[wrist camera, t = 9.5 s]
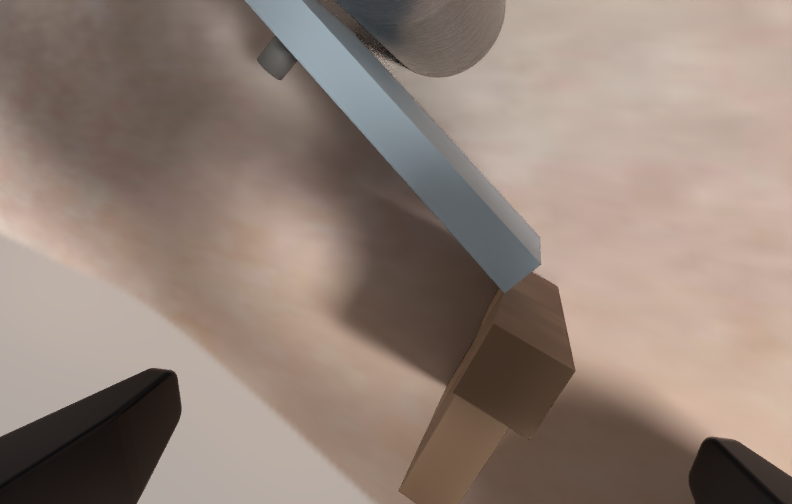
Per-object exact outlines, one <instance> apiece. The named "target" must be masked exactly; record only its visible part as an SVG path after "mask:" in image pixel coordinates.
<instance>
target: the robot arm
mask: <svg viewBox="0 0 792 504" xmlns="http://www.w3.org/2000/svg"><path fill="white" fill-rule="evenodd" d="M180 415H181V399H180V392H179V385H178V378H177V375H176V373H175V372H174V371H172V370H166V369H158V368H151V369H147V370H146V371H143V372H141V373H139V374H137V375H134V376H132V377H130V378H128V379H126V380H123V381H121V382H119V383H117V384H115V385H112V386H110V387H108V388H106V389H104V390H102V391H99V392H97V393H95V394H93V395H91V396H88V397H86V398H84V399H82V400H80V401H78V402H75V403H73V404H71V405H69V406H67V407H65V408H62V409H60V410H58V411H56V412H54V413H51V414H49V415H47V416H45V417H43V418H40V419H38V420H36V421H34V422H32V423H30V424H27V425H25V426H23V427H21V428H19V429H16V430H14V431H12V432H10V433H8V434H6V435H3V436H1V437H0V504H137V502H138V500H139V498H140V497H141V495H142V493H143V491H144V489H145V487H146V485H147V483H148V481H149V479H150V477H151V475H152V473H153V471H154V469H155V467H156V465H157V463H158V461H159V459H160V457H161V455H162V453H163V451H164V449H165V448H166V446H167V444H168V441H169V440H170V437H171V436H172V434H173V432H174V430H175V428H176V426H177V424H178V422H179V419H180ZM689 486H690V490H691V493H692V496H693V499H694V502H695V504H792V477H791V476H789V475H788V474H786V473H785V472H783V471H782V470H780V469H779V468H777V467H776V466H774V465H773V464H771V463H770V462H768V461H767V460H765V459H764V458H762V457H761V456H759V455H758V454H756V453H755V452H753V451H752V450H750V449H749V448H747V447H746V446H744V445H743V444H741V443H740V442H738V441H736V440H733V439H726V438H718V437H708V438H706V439H705V440H704V441H703V442H702V444H701V446H700V449H699V451H698V453H697V456H696V458H695V460H694V463H693V465H692V467H691V470H690V473H689Z"/></svg>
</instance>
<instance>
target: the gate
mask: <svg viewBox="0 0 792 504" xmlns="http://www.w3.org/2000/svg"><path fill="white" fill-rule="evenodd" d="M245 1H246V3H247V4H248V5H249V6H250V7H251V8H252V9H253V10H254V12H255V13H256V14H257V15H258V16H259V17H260V18H261V19H262V21H263V22H264V23H265V24H266V25H267V26H268V27H269V28H270V30H271V31H272V32H273V33H274V34H275V36H274V38H273V39H272V40H271V42H270V43H269V44H268V46H267V47H266V48H265V49H264V51H263V52H262V53H261V55H260V56H259V57H258V58H257V60H258V62H259V63H260V65H261V66H262V67H263V68H264V69H265V70H266V71H267V72H268V73H270V74H271V75H272V76H273V77H275V78H276V79H278V80H282V79H283V77H284V76H285V75H286V74H287V73H288V71H289V70H290V69H291V68H292V66H293V65H294V64H295V63H296V61H297V60H298V61H299V62H300V63H301V65H302V66H303V67H304V68H305V69H306V70H307V71H308V72H309V74H310V75H311V76H312V77H313V78H314V79H315V80H316V82H317V83H318V84H319V85H320V86H321V87H322V88H323V89H324V91H325V92H326V93H327V94H328V95H329V96H330V97H331V98H332V100H333V101H334V102H335V103H336V104H337V105H338V106H339V107H340V109H341V110H342V111H343V112H344V113H345V114H346V115H347V116H348V118H349V119H350V120H351V121H352V122H353V123H354V124H355V125H356V127H357V128H358V129H359V130H360V131H361V132H362V133H363V135H364V136H365V137H366V138H367V139H368V140H369V141H370V142H371V144H372V145H373V146H374V147H375V148H376V149H377V150H378V151H379V153H380V154H381V155H382V156H383V157H384V158H385V159H386V160H387V162H388V163H389V164H390V165H391V166H392V167H393V168H394V169H395V171H396V172H397V173H398V174H399V175H400V176H401V177H402V179H403V180H404V181H405V182H406V183H407V184H408V185H409V186H410V188H411V189H412V190H413V191H414V192H415V193H416V194H417V195H418V197H419V198H420V199H421V200H422V201H423V202H424V203H425V204H426V206H427V207H428V208H429V209H430V210H431V211H432V212H433V213H434V215H435V216H436V217H437V218H438V219H439V220H440V221H441V223H442V224H443V225H444V226H445V227H446V228H447V229H448V230H449V232H450V233H451V234H452V235H453V236H454V237H455V238H456V239H457V241H458V242H459V243H460V244H461V245H462V246H463V247H464V248H465V250H466V251H467V252H468V253H469V254H470V255H471V256H472V257H473V259H474V260H475V261H476V262H477V263H478V264H479V265H480V266H481V268H482V269H483V270H484V271H485V272H486V273H487V274H488V276H489V277H490V278H491V279H492V280H493V281H494V282H495V283H496V285H497V286H498V287H499V288H500V289H501V290H502V291H503V292H504V293H506V292H507V291H508V290H509V289H511V288H512V287H513V286H514V285H516V284H517V283H518V282H519V281H521V280H522V279H523V278H525V277H526V276H527V275H528V274H530V273H531V272H532V271H533V270H535V269H536V268H537V267H538V266H540V265H541V253H540V237H539V235H538V234H537V233H536V232H535V231H534V230H533V229H532V228H531V227H530V226H529V225H528V223H527V222H526V221H525V220H524V219H523V218H522V217H521V216H520V215H519V214H518V212H517V211H516V210H515V209H514V208H513V207H512V206H511V205H510V204H509V203H508V201H507V200H506V199H505V198H504V197H503V196H502V195H501V194H500V193H499V192H498V191H497V189H496V188H495V187H494V186H493V185H492V184H491V183H490V182H489V181H488V180H487V178H486V177H485V176H484V175H483V174H482V173H481V172H480V171H479V170H478V169H477V168H476V166H475V165H474V164H473V163H472V162H471V161H470V160H469V159H468V158H467V157H466V155H465V154H464V153H463V152H462V151H461V150H460V149H459V148H458V147H457V146H456V144H455V143H454V142H453V141H452V140H451V139H450V138H449V137H448V136H447V135H446V134H445V132H444V131H443V130H442V129H441V128H440V127H439V126H438V125H437V124H436V123H435V121H434V120H433V119H432V118H431V117H430V116H429V115H428V114H427V113H426V112H425V111H424V109H423V108H422V107H421V106H420V105H419V104H418V103H417V102H416V101H415V100H414V98H413V97H412V96H411V95H410V94H409V93H408V92H407V91H406V90H405V89H404V87H403V86H402V85H401V84H400V83H399V82H398V81H397V80H396V79H395V78H394V77H393V75H392V74H391V73H390V72H389V71H388V70H387V69H386V68H385V67H384V66H383V64H382V63H381V62H380V61H379V60H378V59H377V58H376V57H375V56H374V55H373V54H372V52H371V51H370V50H369V49H368V48H367V47H366V46H365V45H364V44H363V43H362V41H361V40H360V39H359V38H358V37H357V36H356V35H355V34H354V33H353V32H352V30H351V29H350V28H349V27H348V26H347V25H345V24H344V23H343V22H342V21H341V20H340V19H338V18H337V17H336V16H335V15H334V14H333V13H331V12H330V11H329V10H328V9H327V8H326V7H324V6H323V5H322V4H321V3H320V2H319V1H317V0H245Z"/></svg>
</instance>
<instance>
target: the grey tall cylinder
mask: <svg viewBox="0 0 792 504" xmlns="http://www.w3.org/2000/svg"><path fill="white" fill-rule="evenodd" d="M335 1H336V2H337V3H338V4H339V5H340V6H341V7H342V8H343V9H344V10H346V11H347V12H348V13H349V14H350V15H351V16H352V17H353V18H354V19H355V20H356V21H357V22H358V23H359V24H360V25H362V26H363V27H364V28H365V29H366V30H367V31H368V32H369V33H370V34H371V35H372V36H373V37H374V38H375V39H376V40H378V41H379V42H380V43H381V44H382V45H383V46H384V47H385V48H386V49H387V50H388V51H389V52H390V53H391V54H392V55H394V56H395V57H396V58H397V59H398V60H399V61H400V62H401V63H402V64H403V65H404V66H406V67H407V68H408V69H410V70H412V71H413V72H415V73H418V74H420V75H423V76H428V77H447V76H452V75H455V74H458V73H461V72H463V71H465V70H467V69H469V68H470V67H472V66H473V65H475V64H476V63H477V62H478V61H479V60H481V59H482V58H483V57H484V56H485V55H486V53H487V52H488V51H489V50H490V48H491V47H492V46H493V44H494V42H495V41H496V39H497V37H498V35H499V32H500V30H501V27H502V24H503V20H504V15H505V0H335Z"/></svg>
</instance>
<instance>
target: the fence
mask: <svg viewBox="0 0 792 504" xmlns="http://www.w3.org/2000/svg"><path fill="white" fill-rule="evenodd" d="M574 372H575V366H574V362H573V357H572V352H571V347H570V342H569V338H568V333H567V328H566V323H565V318H564V314H563V309H562V304H561V299H560V294H559V290H558V287H557V286H556V285H554V284H552V283H550V282H548V281H546V280H544V279H543V278H541V277H539V276H537V275H535V274H533V273H532V272H531V273H530V274H528V275H527V276H526V277H525V278H523V279H522V280H521V281H519V282H518V283H517V284H516V285H514V286H513V287H512V288H511V289H509V290H508V291H507V292H506V293H504V292H503V291H502V290H501V289H500V288H499V289H498V291H497V292H496V294H495V296H494V297H493V299H492V301H491V303H490V305H489V307H488V310H487V312H486V314H485V317H484V319H483V322H482V324H481V326H480V329H479V331H478V333H477V336H476V338H475V339H474V341H473V343H472V344H471V346H470V348H469V349H468V351H467V353H466V355H465V356H464V358H463V360H462V361H461V363H460V365H459V366H458V368H457V370H456V372H455V373H454V375H453V377H452V378H451V380H450V382H449V383H448V385H447V387H446V389H445V391H444V394H443V396H442V398H441V400H440V402H439V404H438V407H437V409H436V411H435V413H434V415H433V417H432V420H431V422H430V424H429V426H428V428H427V430H426V433H425V435H424V437H423V439H422V441H421V443H420V446H419V448H418V450H417V452H416V454H415V456H414V459H413V461H412V463H411V465H410V467H409V469H408V472H407V474H406V476H405V478H404V480H403V482H402V485H401V487H400V489H399V492H401V493H402V494H403V495H405V496H406V497H408V498H409V499H411V500H412V501H413V502H415V503H416V504H459V503H460V501H461V500H462V498H463V497H464V495H465V494H466V492H467V491H468V489H469V488H470V486H471V485H472V483H473V482H474V480H475V478H476V477H477V475H478V474H479V472H480V471H481V469H482V468H483V466H484V465H485V463H486V462H487V460H488V459H489V457H490V455H491V454H492V452H493V451H494V449H495V448H496V446H497V445H498V443H499V442H500V440H501V439H502V437H503V436H504V434H505V432H506V431H507V429H508V428H510V429H512V430H514V431H515V432H517V433H518V434H520V435H522V436H523V437H525V438H526V439H528V440H529V439H530V438H531V436H532V435H533V433H534V432H535V430H536V429H537V427H538V426H539V424H540V423H541V421H542V420H543V418H544V417H545V415H546V414H547V412H548V411H549V410H550V408H551V407H552V405H553V404H554V402H555V401H556V399H557V398H558V396H559V395H560V393H561V392H562V390H563V389H564V387H565V386H566V384H567V383H568V381H569V380H570V378H571V377H572V375H573V374H574Z"/></svg>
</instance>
